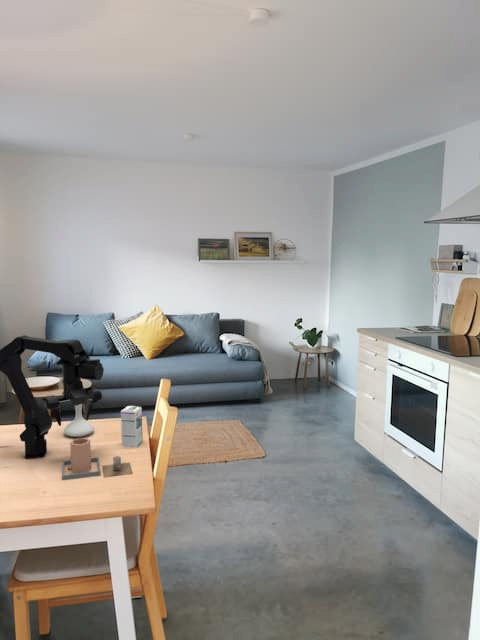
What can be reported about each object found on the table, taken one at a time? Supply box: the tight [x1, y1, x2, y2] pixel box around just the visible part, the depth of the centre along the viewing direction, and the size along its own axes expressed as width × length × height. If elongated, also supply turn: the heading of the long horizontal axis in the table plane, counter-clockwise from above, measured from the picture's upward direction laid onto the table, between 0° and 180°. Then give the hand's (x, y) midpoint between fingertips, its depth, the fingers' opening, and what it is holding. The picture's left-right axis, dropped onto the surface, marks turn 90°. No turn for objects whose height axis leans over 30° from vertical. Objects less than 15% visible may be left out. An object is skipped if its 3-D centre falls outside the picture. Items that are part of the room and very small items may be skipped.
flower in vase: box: [57, 378, 95, 438], centre depth 194 cm, size 13×11×25 cm
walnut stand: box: [101, 455, 134, 478], centre depth 163 cm, size 9×9×5 cm
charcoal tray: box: [61, 456, 102, 481], centre depth 162 cm, size 11×11×2 cm
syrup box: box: [120, 405, 144, 448], centre depth 184 cm, size 6×6×14 cm
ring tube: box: [67, 437, 92, 474], centre depth 162 cm, size 7×6×10 cm
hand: (73, 422), depth 171 cm, fingers open, 9 cm apart
